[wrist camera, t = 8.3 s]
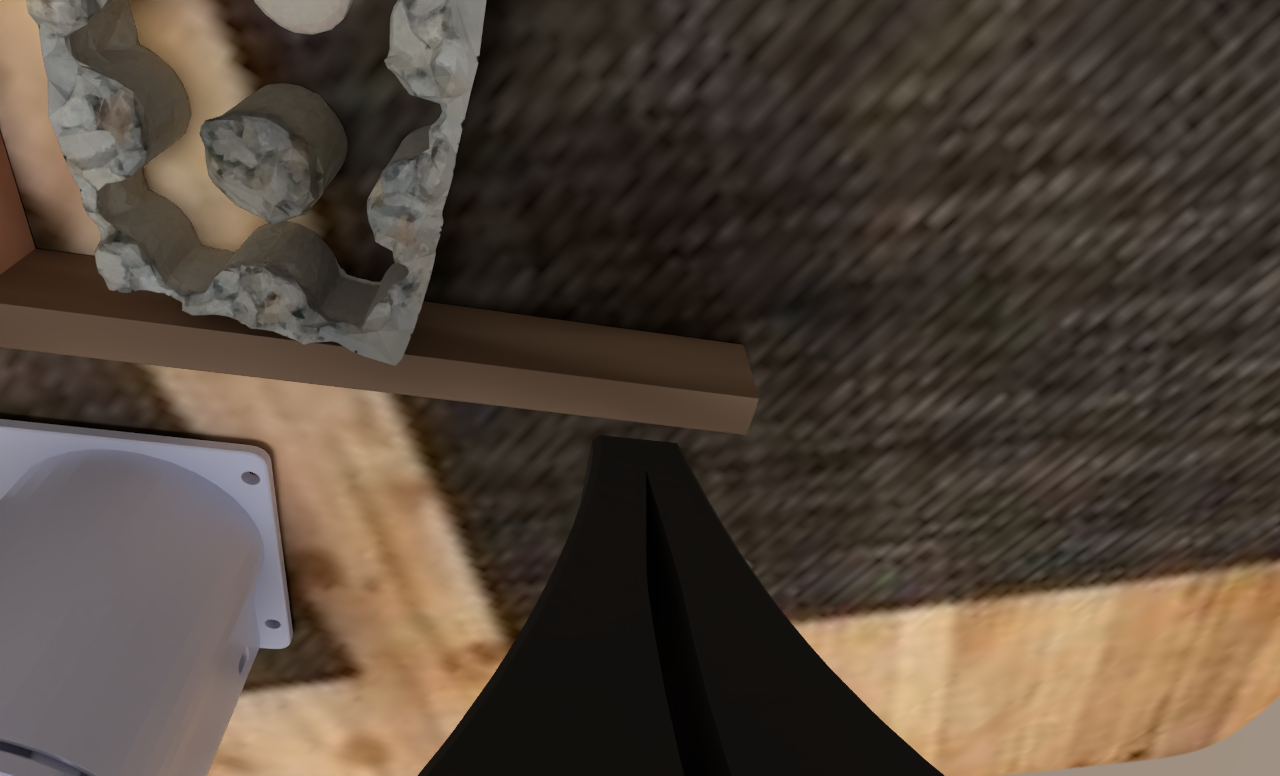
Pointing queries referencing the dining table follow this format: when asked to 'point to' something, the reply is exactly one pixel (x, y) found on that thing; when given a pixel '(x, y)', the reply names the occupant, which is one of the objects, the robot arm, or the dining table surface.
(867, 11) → the dining table surface
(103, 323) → the channel
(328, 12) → the egg carton
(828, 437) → the dining table surface
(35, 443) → the robot arm
